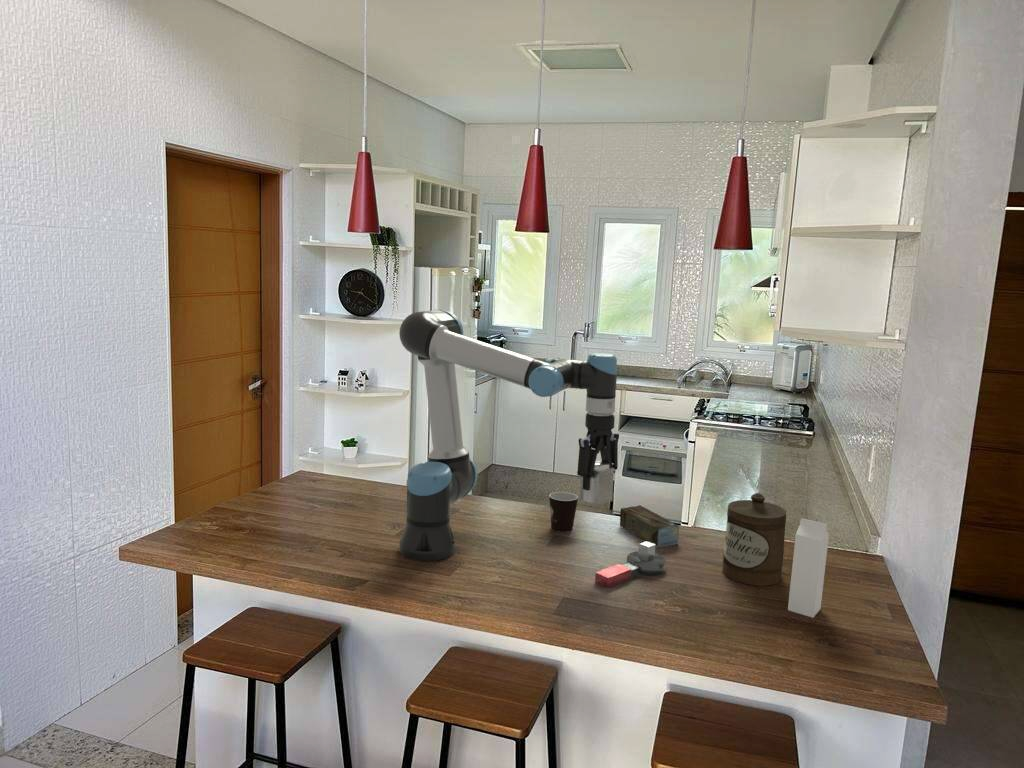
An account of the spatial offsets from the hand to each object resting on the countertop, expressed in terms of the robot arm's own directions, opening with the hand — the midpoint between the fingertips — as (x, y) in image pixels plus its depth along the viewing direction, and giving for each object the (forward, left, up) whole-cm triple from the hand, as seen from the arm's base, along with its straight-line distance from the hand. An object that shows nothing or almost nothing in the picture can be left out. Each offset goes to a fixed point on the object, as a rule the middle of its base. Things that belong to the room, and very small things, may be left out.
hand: (596, 498), depth 201 cm
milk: (+18, -50, -18) cm, 56 cm away
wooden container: (+27, -31, -18) cm, 45 cm away
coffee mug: (+13, +24, -18) cm, 33 cm away
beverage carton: (+29, +3, -18) cm, 34 cm away
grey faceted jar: (0, 0, 0) cm, 0 cm away
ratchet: (+2, -11, -18) cm, 21 cm away
